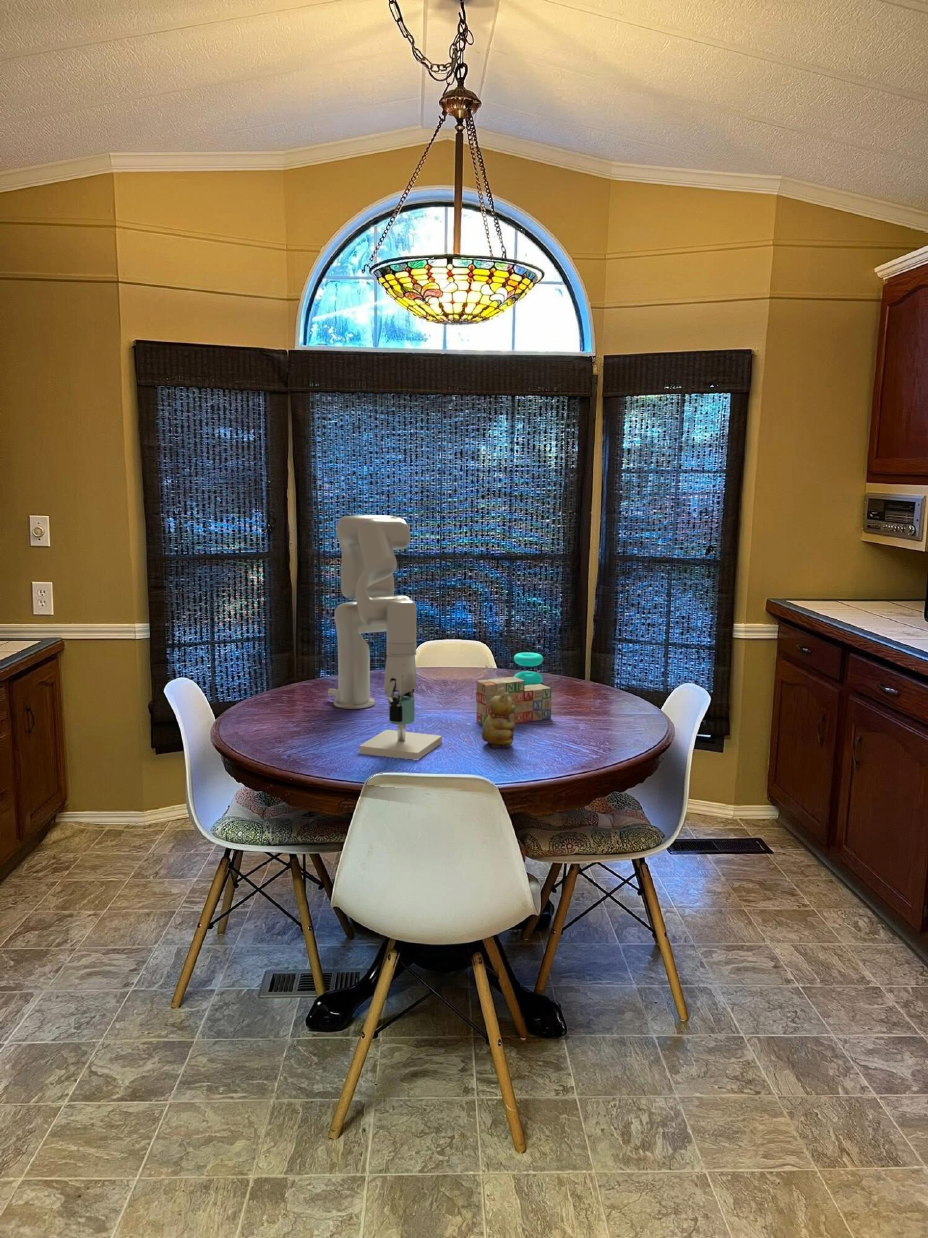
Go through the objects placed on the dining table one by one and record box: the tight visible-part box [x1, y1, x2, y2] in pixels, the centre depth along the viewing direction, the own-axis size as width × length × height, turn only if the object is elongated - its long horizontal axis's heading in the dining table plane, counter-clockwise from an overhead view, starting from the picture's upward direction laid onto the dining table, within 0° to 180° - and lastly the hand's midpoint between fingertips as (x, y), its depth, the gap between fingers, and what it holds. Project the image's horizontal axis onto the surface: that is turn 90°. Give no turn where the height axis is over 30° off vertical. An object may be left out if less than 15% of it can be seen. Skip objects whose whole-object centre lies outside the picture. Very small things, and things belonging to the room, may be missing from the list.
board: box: [358, 724, 443, 760], centre depth 229 cm, size 16×16×10 cm
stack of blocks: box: [475, 676, 552, 726], centre depth 258 cm, size 21×6×12 cm, turn 116°
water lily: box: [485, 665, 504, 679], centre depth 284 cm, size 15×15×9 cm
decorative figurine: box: [481, 688, 516, 748], centre depth 233 cm, size 10×8×15 cm
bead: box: [388, 696, 415, 726], centre depth 228 cm, size 6×6×6 cm
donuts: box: [513, 652, 544, 685], centre depth 305 cm, size 10×10×10 cm
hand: (401, 717), depth 229 cm, fingers closed on bead, 6 cm apart
